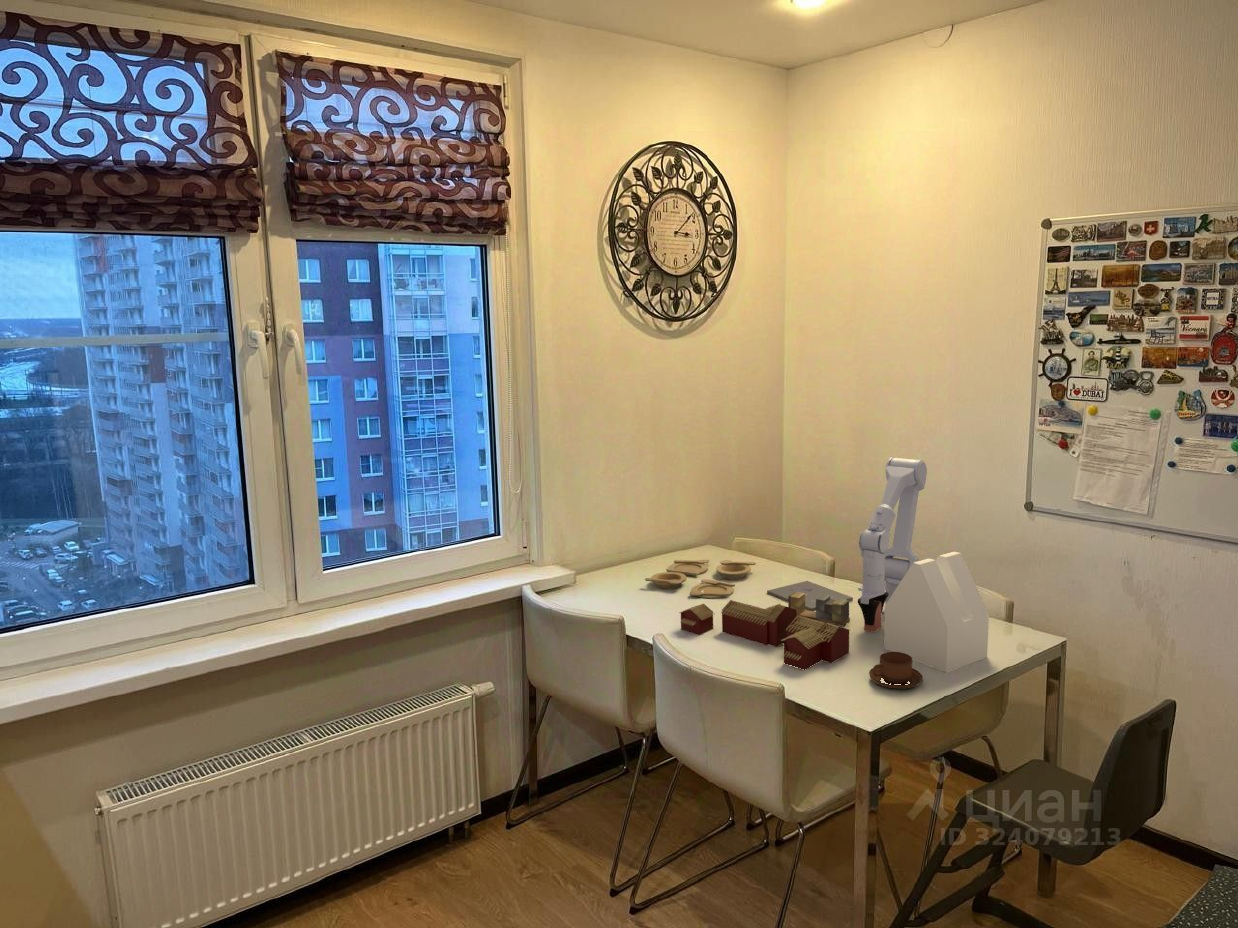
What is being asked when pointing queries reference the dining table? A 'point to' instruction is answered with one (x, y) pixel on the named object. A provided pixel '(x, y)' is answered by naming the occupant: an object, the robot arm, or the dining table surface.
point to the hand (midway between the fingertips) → (872, 621)
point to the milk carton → (938, 615)
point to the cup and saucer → (895, 671)
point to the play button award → (807, 593)
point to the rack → (822, 609)
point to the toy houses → (774, 631)
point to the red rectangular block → (877, 620)
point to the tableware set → (710, 587)
